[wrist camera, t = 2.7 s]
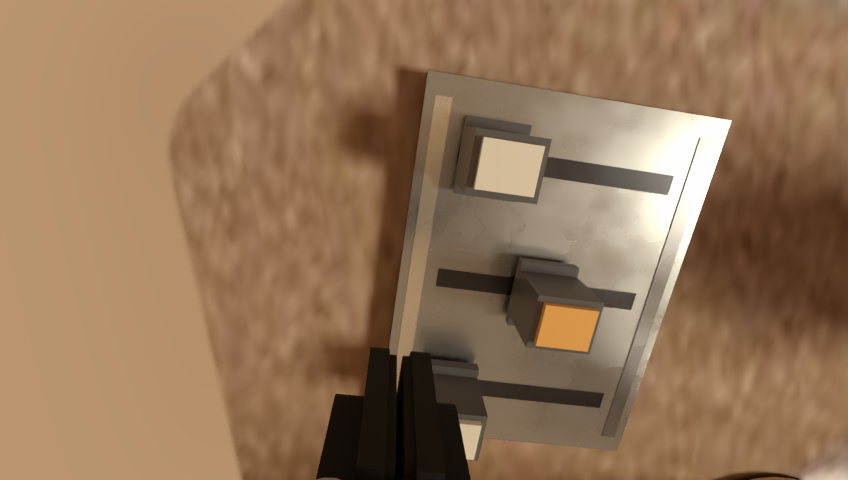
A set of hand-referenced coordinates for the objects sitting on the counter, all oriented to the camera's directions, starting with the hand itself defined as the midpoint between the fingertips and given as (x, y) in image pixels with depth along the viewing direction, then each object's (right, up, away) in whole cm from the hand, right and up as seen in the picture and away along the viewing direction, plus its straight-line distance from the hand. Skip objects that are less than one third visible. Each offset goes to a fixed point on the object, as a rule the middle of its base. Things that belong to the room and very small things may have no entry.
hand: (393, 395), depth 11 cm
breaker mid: (+7, +2, +11) cm, 13 cm away
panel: (+7, +2, +12) cm, 14 cm away
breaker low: (+4, +8, +9) cm, 13 cm away
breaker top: (+2, -4, +12) cm, 13 cm away
